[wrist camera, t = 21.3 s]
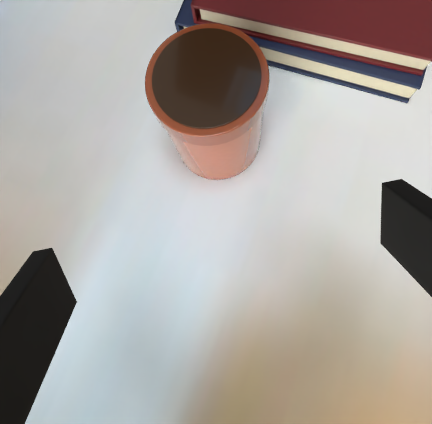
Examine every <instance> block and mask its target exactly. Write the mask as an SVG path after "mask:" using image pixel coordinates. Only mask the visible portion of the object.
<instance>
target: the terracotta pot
mask: <svg viewBox="0 0 432 424" xmlns="http://www.w3.org/2000/svg"><path fill="white" fill-rule="evenodd" d="M268 87H269V69H268V64H267V61H266V58H265V56H264V54H263V52H262V50H261V49H260V47H259V46H258V45H257V44H256V42H255V41H254V40H253V39H252V38H250V37H249V36H248V35H247V34H245V33H243V32H242V31H240V30H238V29H236V28H233V27H230V26H227V25H222V24H213V23H209V24H199V25H194V26H190V27H187V28H185V29H182V30H180V31H178V32H176V33H175V34H173V35H172V36H170V37H169V38H168V39H166V40H165V41H164V42H163V43H162V44H161V45H160V46H159V47H158V49H157V50H156V51H155V53H154V54H153V56H152V58H151V60H150V62H149V65H148V68H147V72H146V76H145V91H146V96H147V99H148V102H149V105H150V107H151V109H152V110H153V112H154V114H155V116H156V118H157V120H158V121H159V123H160V124H161V125H162V127H163V128H164V129H165V130H166V131H167V133H168V135H169V137H170V138H171V140H172V142H173V144H174V146H175V148H176V150H177V152H178V154H179V156H180V158H181V160H182V161H183V163H184V164H185V165H186V167H187V168H188V169H189V170H191V171H192V172H193V173H195V174H197V175H199V176H201V177H203V178H207V179H214V180H220V179H227V178H231V177H233V176H236V175H238V174H239V173H241V172H243V171H244V170H245V169H246V168H247V167H248V166H250V164H251V163H252V162H253V160H254V159H255V157H256V155H257V153H258V149H259V145H260V136H261V126H262V116H263V110H264V108H265V105H266V101H267V96H268Z"/></svg>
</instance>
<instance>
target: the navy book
mask: <svg viewBox="0 0 432 424" xmlns="http://www.w3.org/2000/svg"><path fill="white" fill-rule="evenodd" d="M191 2H192V0H184V1H183V4H182V6H181V8H180V11H179V13H178V16H177V18H176V20H175V25H176V29H177V32H178V31H180V30H182V29H185V28H187V27H190V26H194V25H199V24H196V23H194V20H193V15H192V9H191ZM249 37H250V38H252V39H253V40H254V41H255V42H256V44H257V45H258V46H259V47H260V49H261V50H262V52H263V54H264V56H265V58H266V61H267V64H268V65H270V66H273V67H277V68H281V69H284V70H288V71H292V72H295V73H299V74H303V75H306V76H310V77H314V78H317V79H321V80H325V81H328V82H332V83H336V84H339V85H343V86H346V87H350V88H354V89H357V90H361V91H365V92H368V93H372V94H376V95H379V96H383V97H387V98H390V99H394V100H398V101H401V102H405V103H408V101H409V98H410V97H411V96H412V95H413V93H414V92H415V91H416V90H417V89H420V88H421V85H422V82H423V78H424V75H425V71H426V68H427V66H426V68H425V69H424V70H423V74H422V75H421V76H420V75H416V74H411V73H407V72H403V71H398V70H394V69H390V68H386V67H381V66H377V65H373V64H368V63H364V62H360V61H355V60H351V59H347V58H342V57H338V56H334V55H330V54H325V53H321V52H317V51H312V50H308V49H304V48H299V47H295V46H291V45H286V44H282V43H278V42H274V41H269V40H265V39H261V38H256V37H252V36H249Z"/></svg>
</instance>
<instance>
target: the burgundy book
mask: <svg viewBox="0 0 432 424" xmlns="http://www.w3.org/2000/svg"><path fill="white" fill-rule="evenodd" d="M191 9H192V15H193V20H194V23H196V24H209V23H213V24H222V25H227V26H230V27H233V28H236V29H238V30H240V31H242V32H243V33H245V34H247V35H248V36H252V37H256V38H261V39H265V40H269V41H274V42H278V43H282V44H286V45H291V46H295V47H299V48H304V49H308V50H312V51H317V52H321V53H325V54H330V55H334V56H338V57H342V58H347V59H351V60H355V61H360V62H364V63H368V64H373V65H377V66H381V67H386V68H390V69H394V70H398V71H403V72H407V73H411V74H416V75H420V76H421V75H422V74H423V70H424V69H425V68H426V66H427V65H428V64H429V63H430V62H431V61H432V0H192V2H191Z"/></svg>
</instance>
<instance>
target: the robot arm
mask: <svg viewBox="0 0 432 424" xmlns="http://www.w3.org/2000/svg"><path fill="white" fill-rule="evenodd" d="M381 244H382V245H383V246H384V247H385V248H386V249H387V250H388V251H389V252H390V254H391V255H392V256H393V257H394V258H395V259H396V260H397V261H398V262H399V263H400V264H401V265H402V266H403V267H404V268H405V269H406V270H407V271H408V272H409V274H410V275H411V276H412V277H413V278H414V279H415V280H416V281H417V282H418V283H419V284H420V285H421V286H422V287H423V288H424V289H425V290H426V291H427V293H428V294H429V295H430V296H431V297H432V199H431V198H430V197H428V196H427V195H425V194H424V193H422V192H421V191H419V190H418V189H416V188H415V187H413V186H411V185H410V184H408V183H407V182H405V181H404V180H402V179H400V180H394V181H389V182H384V183H382V203H381ZM76 302H77V301H76V299H75V297H74V295H73V293H72V290H71V288H70V286H69V284H68V282H67V279H66V277H65V275H64V273H63V271H62V268H61V266H60V264H59V262H58V260H57V257H56V255H55V253H54V251H53V249H52V248H49V249H44V250H39V251H34V252H32V254H31V255H30V257H29V258H28V259H27V261H26V262H25V263H24V265H23V266H22V267H21V269H20V270H19V271H18V273H17V274H16V276H15V277H14V278H13V280H12V281H11V282H10V284H9V285H8V286H7V288H6V289H5V290H4V292H3V293H2V295H1V296H0V424H25V421H26V419H27V417H28V414H29V412H30V410H31V407H32V405H33V403H34V400H35V398H36V396H37V393H38V391H39V389H40V386H41V384H42V382H43V379H44V377H45V375H46V372H47V370H48V368H49V365H50V363H51V361H52V358H53V356H54V354H55V351H56V349H57V347H58V344H59V342H60V340H61V337H62V335H63V333H64V330H65V328H66V326H67V323H68V321H69V319H70V316H71V314H72V312H73V309H74V307H75V305H76Z"/></svg>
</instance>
